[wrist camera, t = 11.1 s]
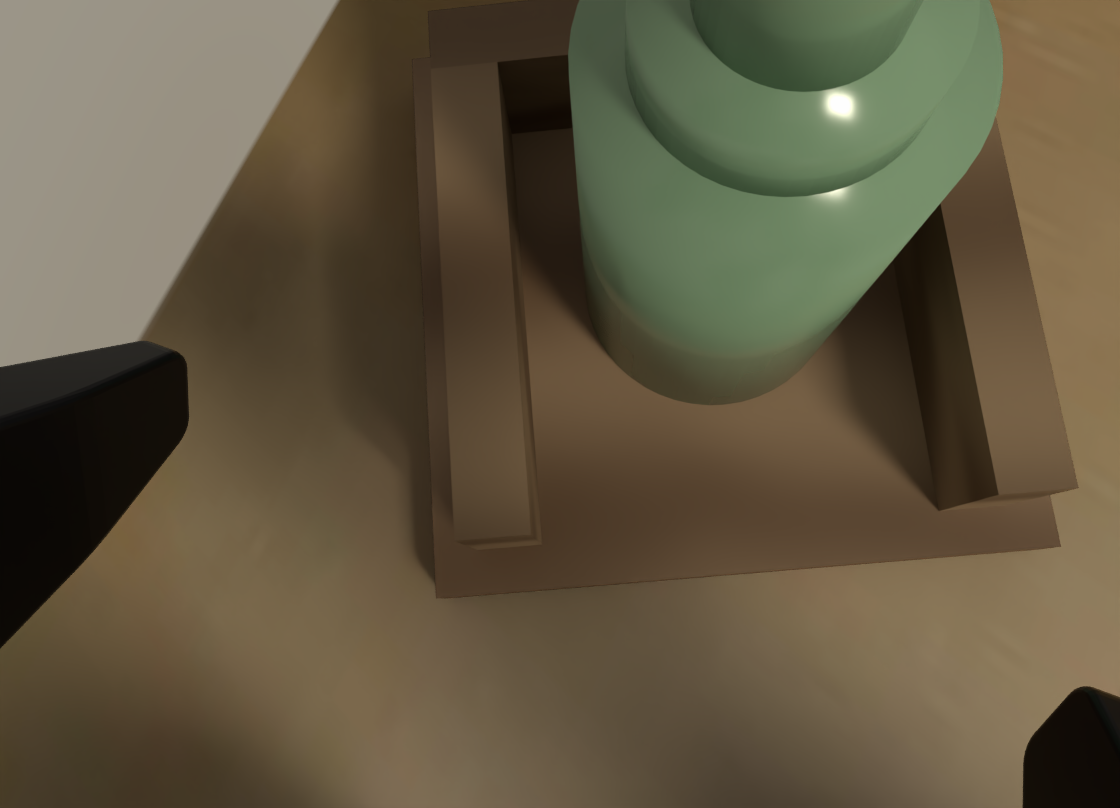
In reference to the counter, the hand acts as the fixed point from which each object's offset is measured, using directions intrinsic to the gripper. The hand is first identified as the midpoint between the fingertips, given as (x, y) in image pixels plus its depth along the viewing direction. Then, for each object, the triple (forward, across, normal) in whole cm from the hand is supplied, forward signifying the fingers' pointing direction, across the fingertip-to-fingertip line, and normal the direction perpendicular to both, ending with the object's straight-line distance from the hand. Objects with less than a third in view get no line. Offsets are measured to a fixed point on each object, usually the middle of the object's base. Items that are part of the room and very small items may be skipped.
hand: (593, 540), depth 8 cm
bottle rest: (+14, 0, +4) cm, 15 cm away
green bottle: (+13, 0, +3) cm, 13 cm away
